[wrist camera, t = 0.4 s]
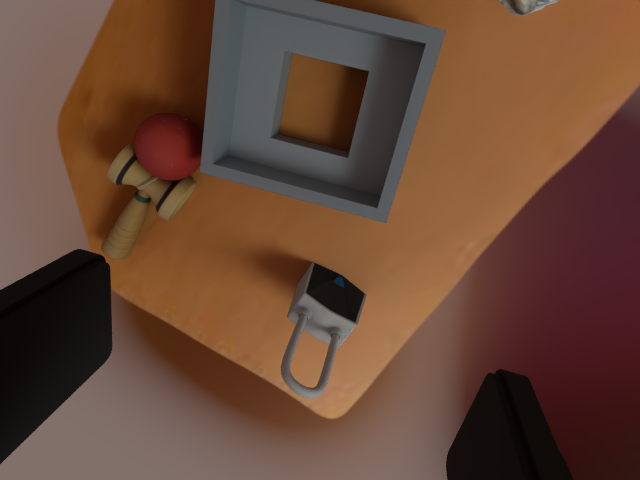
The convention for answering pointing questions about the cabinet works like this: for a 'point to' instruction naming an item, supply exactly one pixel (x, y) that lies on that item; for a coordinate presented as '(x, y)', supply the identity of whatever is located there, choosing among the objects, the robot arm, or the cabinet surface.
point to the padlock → (321, 319)
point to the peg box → (269, 92)
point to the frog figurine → (525, 6)
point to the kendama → (153, 176)
